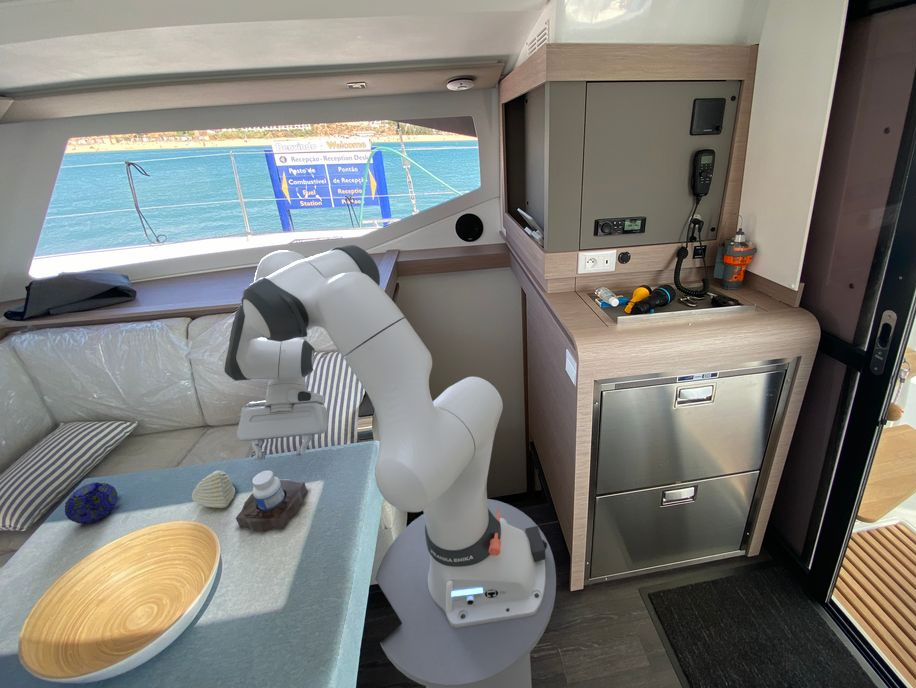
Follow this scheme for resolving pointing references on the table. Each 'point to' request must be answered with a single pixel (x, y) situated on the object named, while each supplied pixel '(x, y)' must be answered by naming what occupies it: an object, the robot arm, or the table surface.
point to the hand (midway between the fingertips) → (280, 457)
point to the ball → (91, 502)
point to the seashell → (214, 490)
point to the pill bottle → (267, 490)
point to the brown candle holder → (277, 515)
